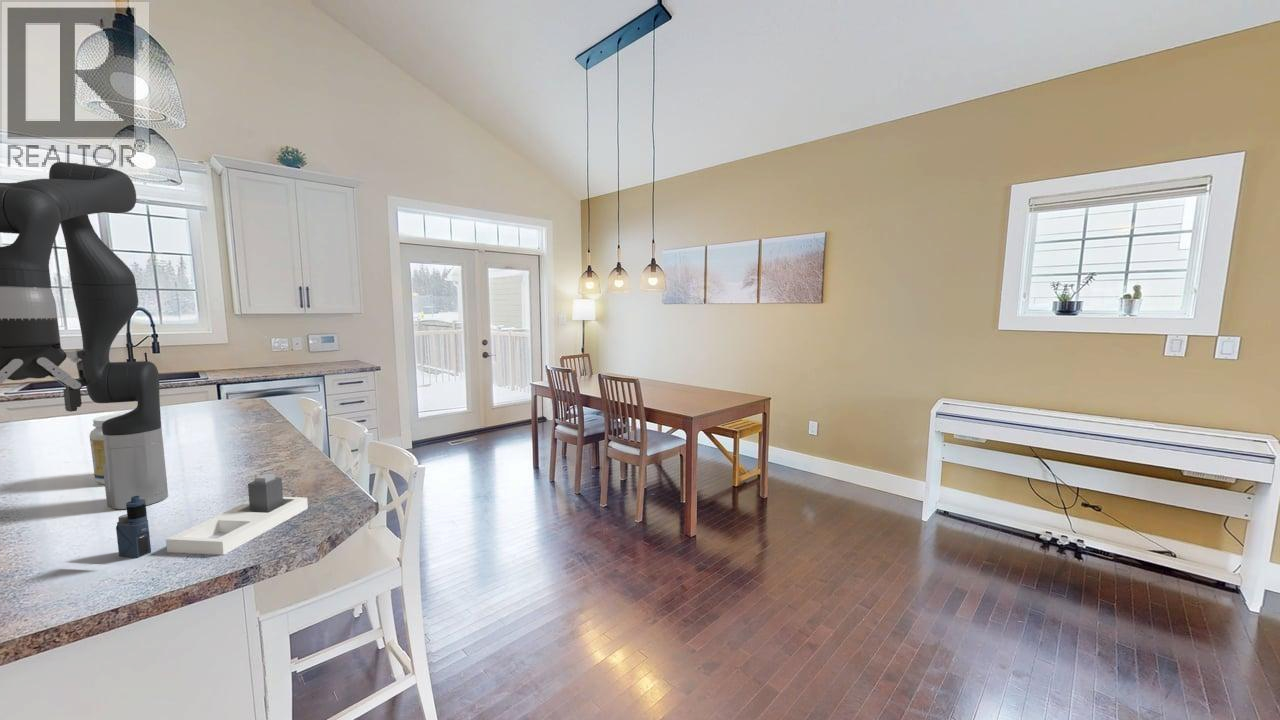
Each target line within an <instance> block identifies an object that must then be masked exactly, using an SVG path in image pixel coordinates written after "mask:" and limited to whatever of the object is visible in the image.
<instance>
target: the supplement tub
mask: <svg viewBox="0 0 1280 720" xmlns="http://www.w3.org/2000/svg"><path fill="white" fill-rule="evenodd" d="M126 413H127V412H121V413H113V414H108V415H101V416H98V417H95V418H93V420H92V421H93V424H92V426H93V427H94V429H92V430H91V431H90V433H89V443H90V450H91V457H92V459H91V460H92V467H93V473H94V474H93V475H94V480H95V482H97V484H102V485H105V482H104V473H103V466H104V465H106V458H105V449H104V441H103V432H102V424H103V422H104V421H106V420H108V419H111V418H114V417H117V416H120V415H123V414H126Z"/></svg>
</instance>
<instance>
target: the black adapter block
mask: <svg viewBox="0 0 1280 720" xmlns="http://www.w3.org/2000/svg"><path fill="white" fill-rule="evenodd" d="M282 478H283V477H277V476H276V475H275V474H272V473H263V474H260V475H258V476H256V477H254V480H253V481H251V482H249V483H247V488H248V490H247V491H248V502H249V505H250V512H262V513H269V512H271V511H273V510H275V509H277V508H279V507H281V506H283V497H284V494H283V481H282Z"/></svg>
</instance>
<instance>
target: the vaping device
mask: <svg viewBox="0 0 1280 720" xmlns="http://www.w3.org/2000/svg"><path fill="white" fill-rule="evenodd" d="M126 508H127V509H126V514H123V515H120V516H118V522H116V526H115V530H116V531H115V532H116V539H117V547H118V548H117V550H118V556H119V557H124V558H130V559H139V558H141V557H143V556H147V555H148V554H151V553H152V547H151V536H150V529H149V519H148V515H147V505H146V504H145V499H140V496H133V497H131V501H130V502H127V503H126Z"/></svg>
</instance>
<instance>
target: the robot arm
mask: <svg viewBox="0 0 1280 720" xmlns="http://www.w3.org/2000/svg"><path fill="white" fill-rule="evenodd" d="M136 192H137V191H136V187H135V185H134V183H133V181H132V179H131V178H130V177H129V176H128V174H126V173H124V172H123V171H121V170H118V169H116V168H115V169H114V168H113V167H112V168H111V167H106V166H105V167H104V166H97V165H91V164H90V165H89V164H82V163H73V162H63V161H57V162H54V163H53V164H51V166H50V168H49V171H48V178H36V179H29V180H23V181H18V182H0V234H1V233H2V234H17V235H18V236H17V237H16V238H15V240H14V241H13V242H12V243H11V244H9V245H4V246H0V386H1V385H2V384H4V382H5V381H6V380H11V381H21V380H26V379H46V378H47V377H50V378H51V379H53V380H55V381H57V382H58V383H60V384H61V385H62V386H64V387H65V388H63V391H62V392H63V399H64V408H65V411H66V412H76V411H78V408H80V407H82V395H81V394H82V393H81V388H82V387H85V386H86V390H87V394H88V396H89V398H90V399H91V401H92V402H94V403H96V404H114V403H115V404H116V403H128V402H129V403H130V402H137V405H136V407H135V408H134V409H132V410H131V411H129V412H125V413H126V414H123V415H120V416H117V417H114V418H111V419H108V420H106V421H104V422H103V424H102V432H103V441H104V449H105V458H106V465H104V466H103V473H104V482H105V484H104V489H105V497H106V498H105V499H106V506H107V507H110V508H111V509H114V510H127V508H126V503H127V502H130V501H131V497H133V496H140V499H145V504H146V506H149V505H153V504H155V503H158V502H161V501H163V500H165V499H167V498H168V497H169V490H168V478H167V470H166V458H165V448H164V447H165V446H164V439H163V427H162V417H161V405H160V403H161V401H160V398H161V397H160V375H159V374H160V373H159V370H158V367H157V366H156V365H155V364H154V363H153V362H152V361H149V360H147V361H143V360H141V361H140V360H138V361H119V362H118V361H116V362H115V361H114V362H111V361H110V350H111V348H112V345H113V344H112V343H114V340H115V339H116V337H117V335H118V334H119V333H120V332H121V331H122V329H123V328H124V327H125V325H126V324H127V323H128V322H129V320H130V319H131V318H132V316H133V315H134V314H135V312H136V310H137V309H138V306H139V296H138V289H137V284H136V278H135V274H134V273H133V271H132V270H131V268H129V266H128V265H127V264H126V263H125V262H124V261H123V260H122V259H121V258H120V257H119V256H118V255H117V254H116V253H115V252H114V251H113V250H111V248H109V247H108V245H107V244H106V243H104V241H103V240H102V239H101V238H100V236H99V235H98V234H97V232H96V231H95V229H94V226H93V225H92V223H91V221H90V218H89V215H92V214H93V215H94V214H101V213H109V214H123V213H124V214H125V213H129V212H130V211H132V210H133V209H134V208H135V206H136V203H137V193H136ZM60 227H61V231H62V234H63V237H64V238H63V240H64V244H65V247H66V254H67V259H68V261H67V262H68V268H69V275H70V276H69V277H70V283H71V288H72V294H73V295H72V296H73V299H74V300H73V301H74V304H75V308H76V311H77V316H78V317H77V318H78V323H79V327H80V333H81V341H82V348H81V349H80V348H79V349H75V350H70V351H69V350H68V351H65V350H64V349H62V345H61V337H60V336H61V335H60V330H59V329H60V328H59V321H58V320H59V319H58V318H59V317H58V310H57V303H56V299H55V297H54V293H53V289H52V282H51V274H50V273H51V272H50V259H51V253H52V249H53V246H54V244H55V239H56V237H57V235H58V232H59V228H60ZM66 359H69V360H70V362H71V363H73V364H74V363H75V364H76V368H77V372H78V373H77V374H78V376H79V377H78V378H74V377H72V376H71V375H70V374H69V373H68V372H66V371H65V370H63V369H62V368H60V367H59V366H61V364H63V363H64V361H65V360H66Z"/></svg>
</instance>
